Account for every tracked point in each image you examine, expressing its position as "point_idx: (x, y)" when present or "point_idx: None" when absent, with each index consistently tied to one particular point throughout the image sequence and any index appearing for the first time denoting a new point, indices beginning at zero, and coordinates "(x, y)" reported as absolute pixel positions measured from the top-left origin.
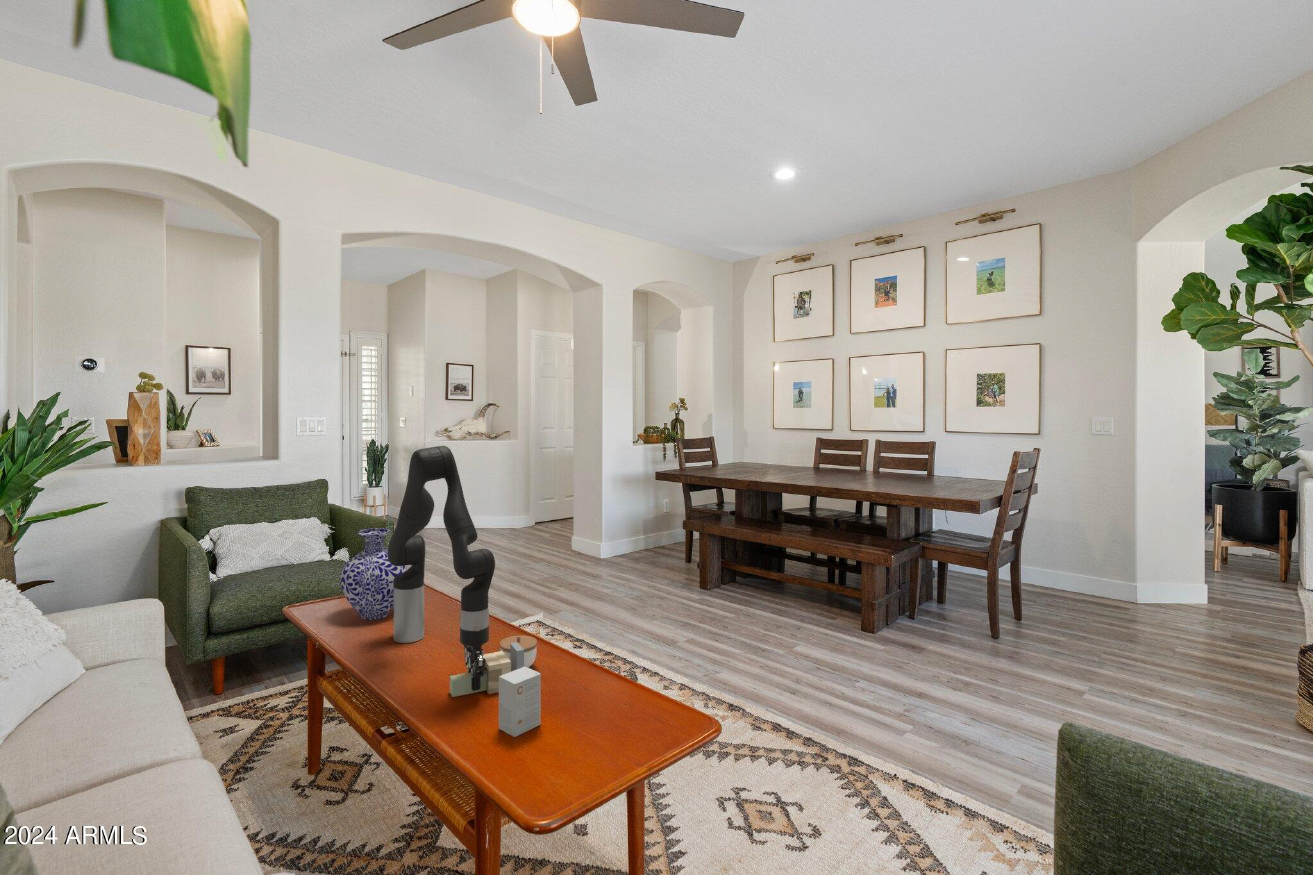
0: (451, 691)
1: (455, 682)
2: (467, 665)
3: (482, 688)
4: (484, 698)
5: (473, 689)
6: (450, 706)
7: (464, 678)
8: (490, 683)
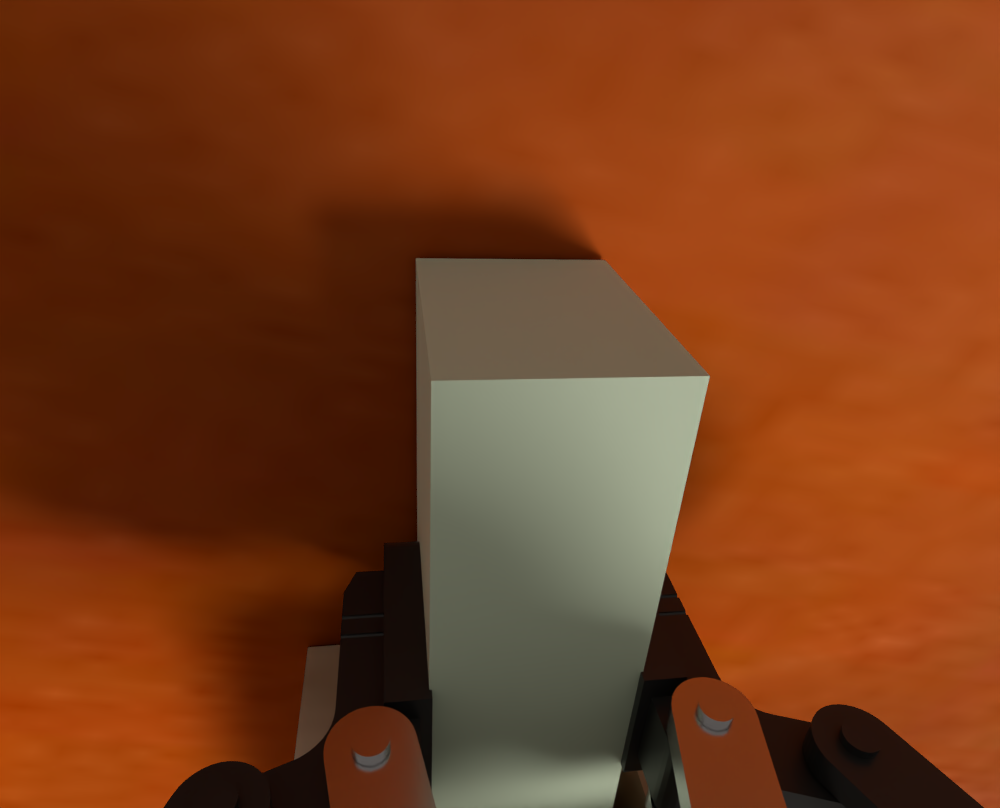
0: (499, 278)
1: (428, 413)
2: (750, 762)
3: None
4: (210, 598)
5: (386, 559)
6: (83, 148)
7: (437, 591)
8: None
